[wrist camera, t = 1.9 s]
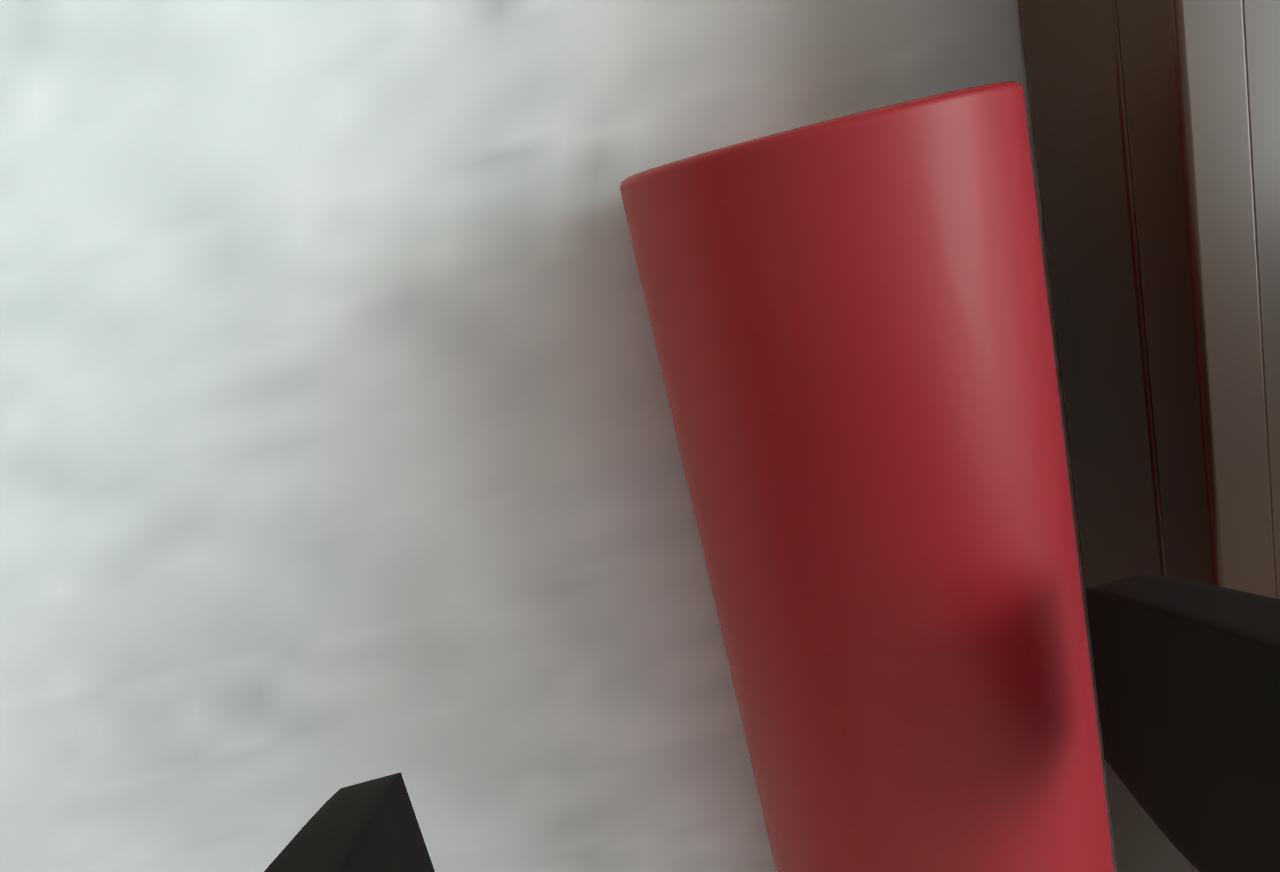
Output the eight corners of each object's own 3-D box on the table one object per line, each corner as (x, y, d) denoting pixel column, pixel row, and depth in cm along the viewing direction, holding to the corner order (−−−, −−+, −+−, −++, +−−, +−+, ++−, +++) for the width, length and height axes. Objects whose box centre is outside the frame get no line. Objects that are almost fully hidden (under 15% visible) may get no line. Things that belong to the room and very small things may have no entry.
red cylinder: (845, 852, 16) (1126, 894, 13) (768, 1087, 12) (1139, 1194, 10) (704, 168, 13) (1034, 83, 11) (545, 194, 9) (1004, 71, 7)
